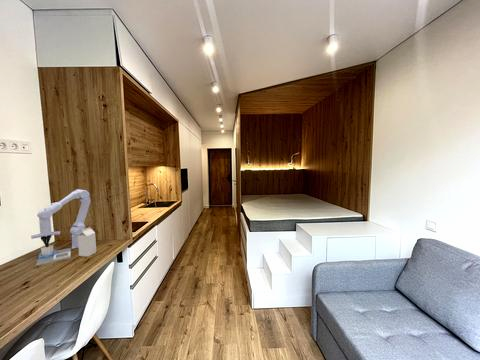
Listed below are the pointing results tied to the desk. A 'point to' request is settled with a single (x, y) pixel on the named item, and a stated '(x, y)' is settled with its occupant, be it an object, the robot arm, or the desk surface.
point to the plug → (47, 250)
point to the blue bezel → (46, 255)
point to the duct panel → (56, 256)
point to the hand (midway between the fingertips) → (47, 246)
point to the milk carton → (87, 242)
